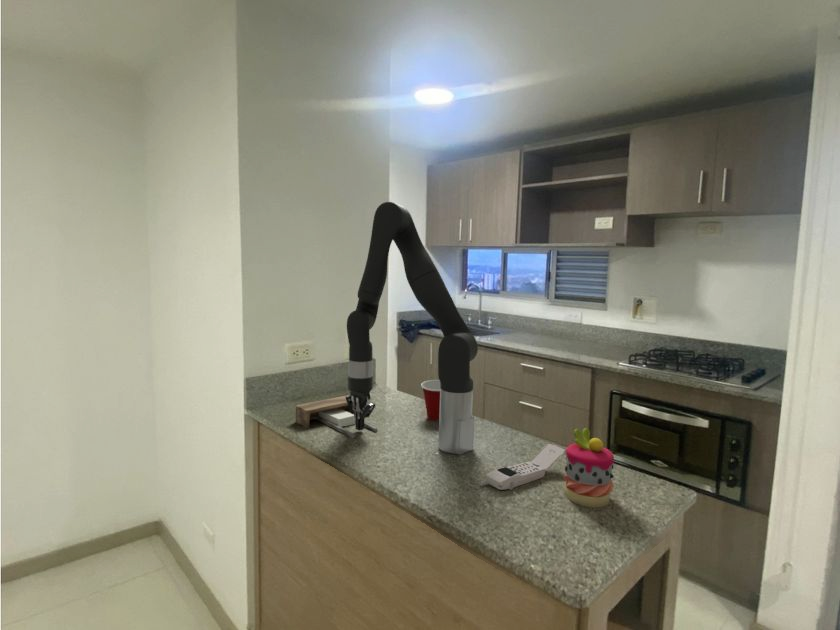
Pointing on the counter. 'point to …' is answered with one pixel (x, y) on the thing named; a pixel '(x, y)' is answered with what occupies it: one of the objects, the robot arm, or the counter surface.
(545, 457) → the mobile phone
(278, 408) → the counter surface
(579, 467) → the cake
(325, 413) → the cream rectangular block
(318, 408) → the overhang
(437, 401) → the plastic cup
